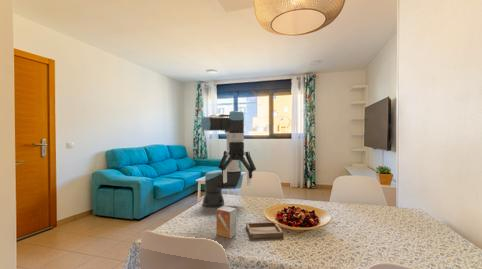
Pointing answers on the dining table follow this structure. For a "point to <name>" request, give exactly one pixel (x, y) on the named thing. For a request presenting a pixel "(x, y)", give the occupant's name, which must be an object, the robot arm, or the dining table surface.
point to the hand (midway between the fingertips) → (236, 183)
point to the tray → (264, 230)
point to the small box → (226, 221)
